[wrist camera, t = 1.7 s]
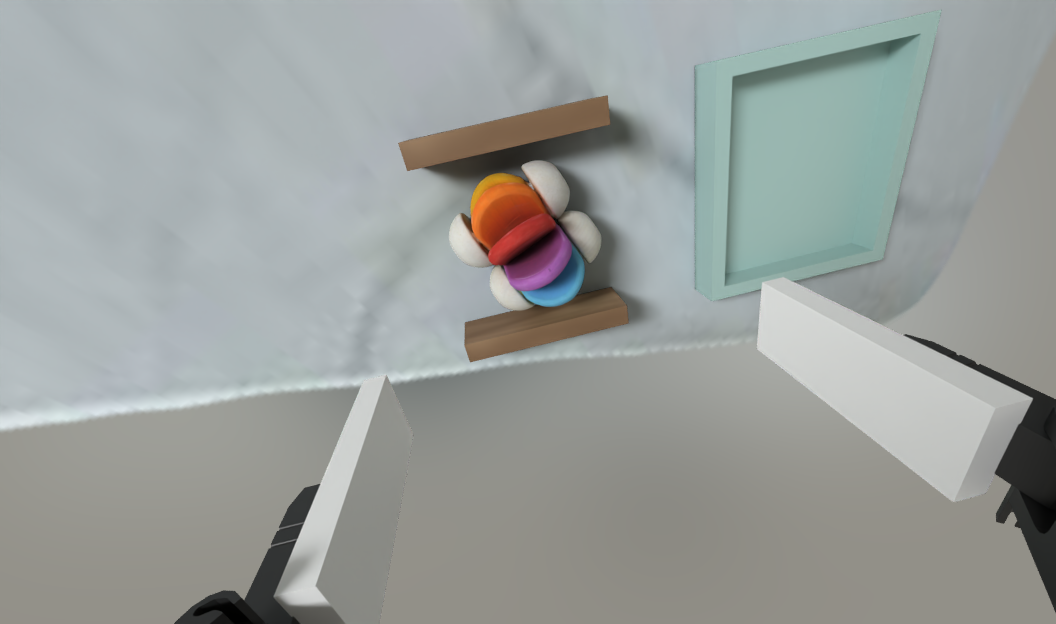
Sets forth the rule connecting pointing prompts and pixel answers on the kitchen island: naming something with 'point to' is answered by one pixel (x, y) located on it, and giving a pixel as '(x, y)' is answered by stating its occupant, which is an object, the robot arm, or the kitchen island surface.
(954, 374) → the robot arm
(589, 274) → the kitchen island surface
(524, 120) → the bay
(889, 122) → the tray
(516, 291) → the rainbow disc toy
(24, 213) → the kitchen island surface
